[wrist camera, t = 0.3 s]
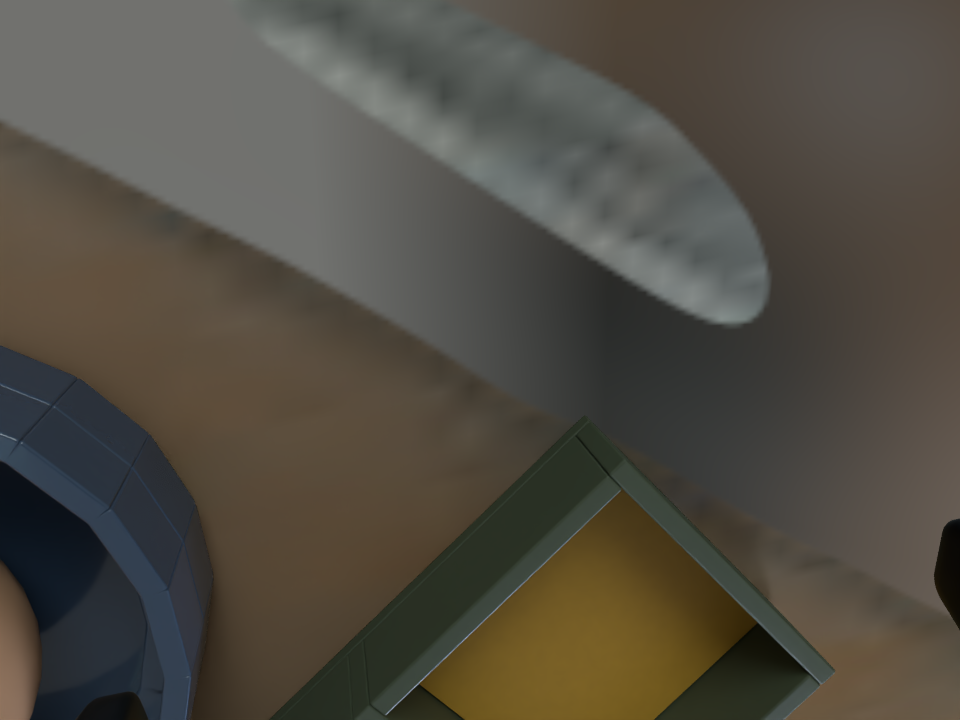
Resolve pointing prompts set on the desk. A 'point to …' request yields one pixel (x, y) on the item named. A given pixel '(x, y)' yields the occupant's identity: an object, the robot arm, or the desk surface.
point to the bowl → (99, 547)
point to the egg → (17, 650)
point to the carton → (572, 615)
